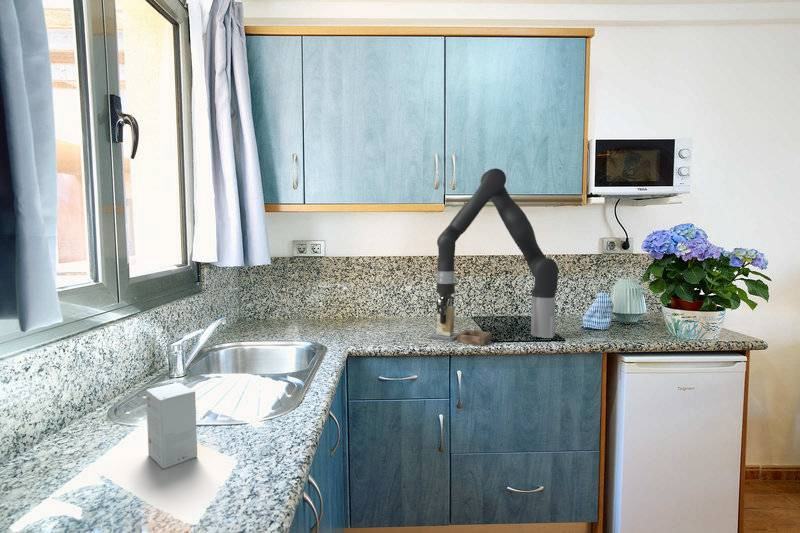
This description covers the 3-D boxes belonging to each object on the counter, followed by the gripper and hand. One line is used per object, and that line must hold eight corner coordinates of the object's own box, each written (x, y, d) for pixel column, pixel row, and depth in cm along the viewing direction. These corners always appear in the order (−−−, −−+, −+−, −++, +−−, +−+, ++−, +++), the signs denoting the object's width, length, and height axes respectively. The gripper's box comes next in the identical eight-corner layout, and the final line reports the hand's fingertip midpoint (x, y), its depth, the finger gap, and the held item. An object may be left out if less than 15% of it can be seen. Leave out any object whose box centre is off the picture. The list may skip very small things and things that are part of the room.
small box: (198, 457, 84) (196, 391, 83) (162, 470, 79) (159, 400, 78) (181, 443, 89) (179, 381, 88) (147, 454, 85) (144, 389, 84)
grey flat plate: (460, 335, 184) (460, 333, 184) (452, 341, 175) (452, 338, 175) (438, 333, 189) (438, 331, 189) (429, 338, 180) (429, 335, 180)
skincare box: (436, 334, 181) (436, 305, 181) (440, 332, 185) (440, 304, 184) (450, 336, 178) (451, 307, 178) (454, 334, 182) (455, 305, 181)
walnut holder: (491, 339, 177) (491, 332, 177) (483, 345, 168) (483, 338, 167) (465, 336, 182) (466, 329, 182) (456, 342, 173) (457, 335, 172)
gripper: (447, 284, 172) (447, 326, 173) (460, 280, 185) (459, 320, 186) (430, 283, 176) (430, 324, 177) (443, 279, 188) (443, 318, 189)
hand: (445, 322), depth 181 cm, fingers open, 4 cm apart
